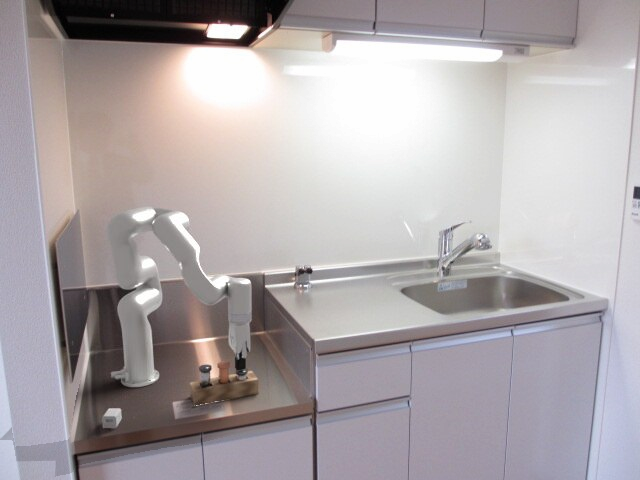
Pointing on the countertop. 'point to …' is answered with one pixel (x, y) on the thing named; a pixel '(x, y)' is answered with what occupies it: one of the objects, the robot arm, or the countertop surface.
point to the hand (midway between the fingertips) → (240, 368)
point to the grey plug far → (241, 374)
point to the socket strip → (223, 389)
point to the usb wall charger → (112, 418)
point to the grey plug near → (205, 375)
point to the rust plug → (223, 372)
